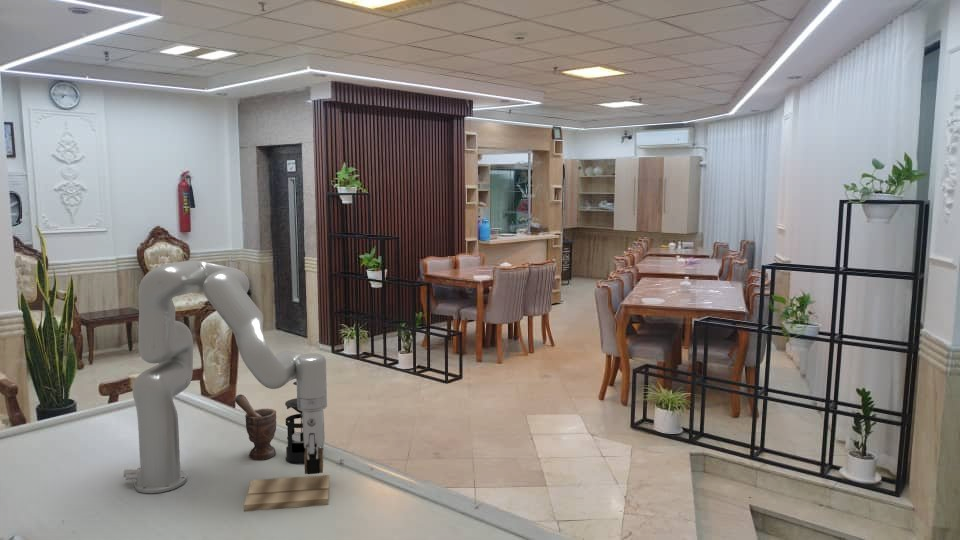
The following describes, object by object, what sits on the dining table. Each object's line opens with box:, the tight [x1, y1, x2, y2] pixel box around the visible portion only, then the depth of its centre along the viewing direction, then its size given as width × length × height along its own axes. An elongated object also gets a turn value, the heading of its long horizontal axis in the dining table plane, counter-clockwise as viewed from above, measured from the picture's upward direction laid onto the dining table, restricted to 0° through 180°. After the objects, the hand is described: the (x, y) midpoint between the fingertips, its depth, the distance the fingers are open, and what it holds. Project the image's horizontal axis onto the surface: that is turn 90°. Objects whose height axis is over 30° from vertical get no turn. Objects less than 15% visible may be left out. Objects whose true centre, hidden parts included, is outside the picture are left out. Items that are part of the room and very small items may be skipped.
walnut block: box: [303, 447, 324, 475], centre depth 173 cm, size 4×4×5 cm
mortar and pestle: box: [234, 394, 277, 461], centre depth 194 cm, size 12×9×20 cm
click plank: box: [247, 474, 330, 494], centre depth 173 cm, size 20×7×2 cm, turn 101°
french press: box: [284, 381, 305, 465], centre depth 194 cm, size 12×9×23 cm
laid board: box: [243, 487, 330, 512], centre depth 166 cm, size 20×6×2 cm, turn 101°
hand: (314, 468), depth 174 cm, fingers closed on walnut block, 4 cm apart
